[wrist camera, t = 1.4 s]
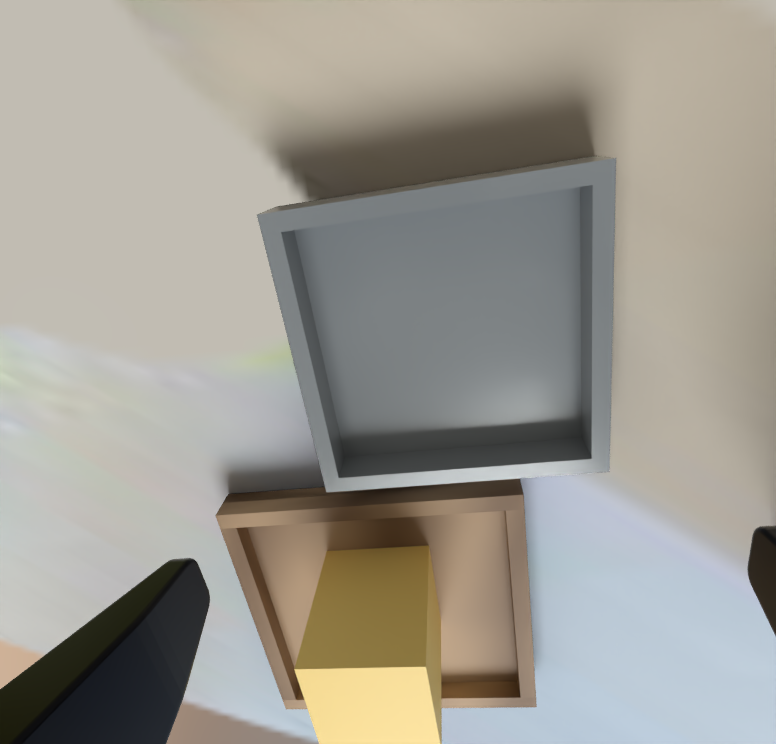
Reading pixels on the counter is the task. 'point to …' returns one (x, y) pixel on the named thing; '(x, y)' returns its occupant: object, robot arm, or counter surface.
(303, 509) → the tray
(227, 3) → the counter surface
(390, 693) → the block
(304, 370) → the dish
